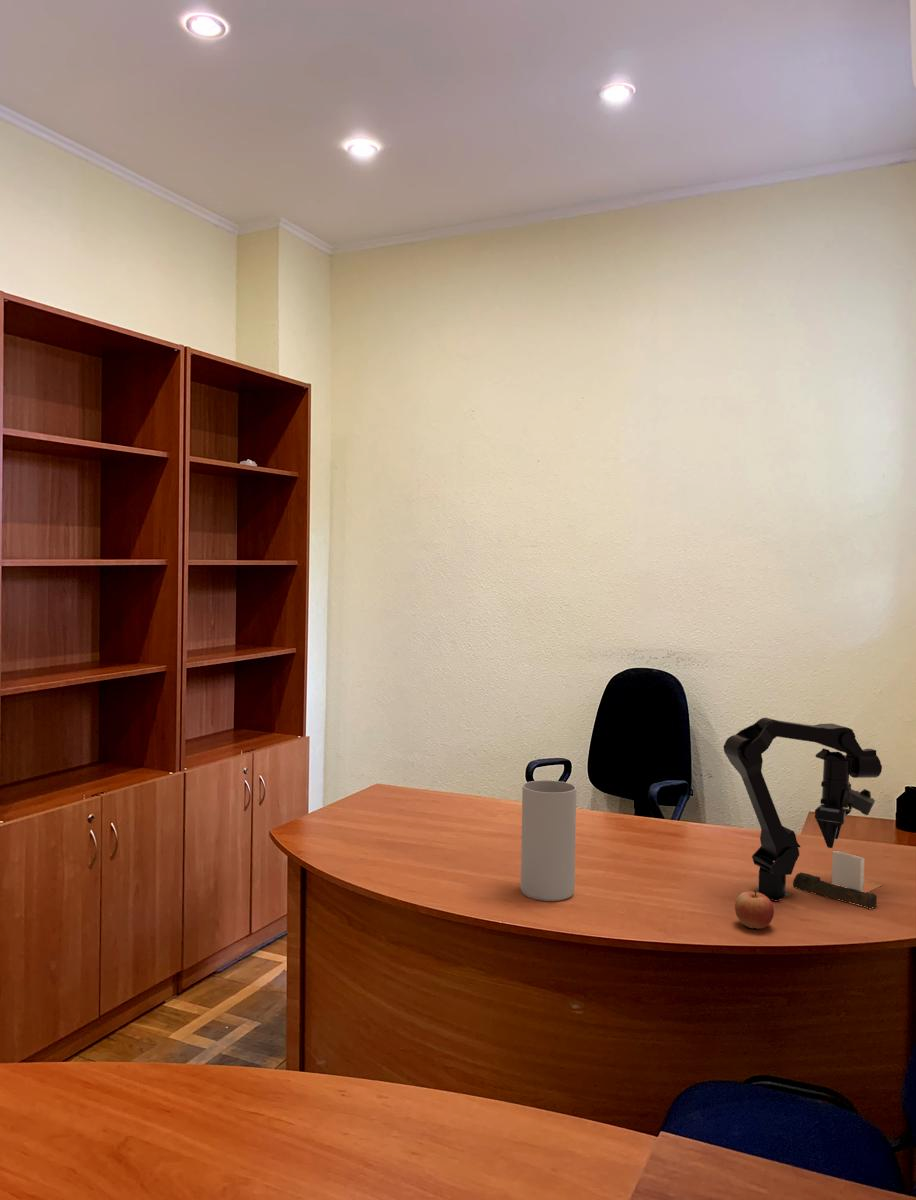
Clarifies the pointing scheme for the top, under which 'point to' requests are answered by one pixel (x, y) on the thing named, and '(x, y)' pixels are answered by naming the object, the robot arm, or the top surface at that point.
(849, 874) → the tile
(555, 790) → the cylinder vase
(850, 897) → the hand tool
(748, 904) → the apple
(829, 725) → the robot arm
